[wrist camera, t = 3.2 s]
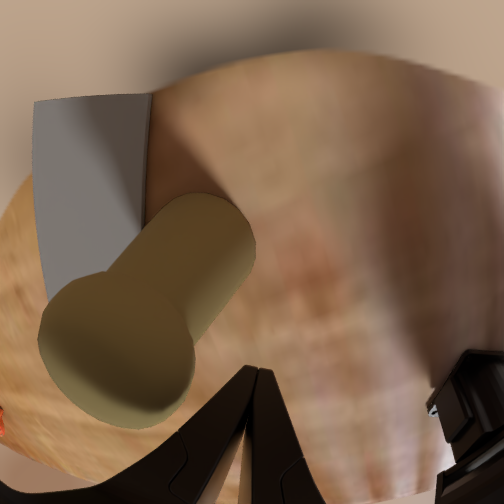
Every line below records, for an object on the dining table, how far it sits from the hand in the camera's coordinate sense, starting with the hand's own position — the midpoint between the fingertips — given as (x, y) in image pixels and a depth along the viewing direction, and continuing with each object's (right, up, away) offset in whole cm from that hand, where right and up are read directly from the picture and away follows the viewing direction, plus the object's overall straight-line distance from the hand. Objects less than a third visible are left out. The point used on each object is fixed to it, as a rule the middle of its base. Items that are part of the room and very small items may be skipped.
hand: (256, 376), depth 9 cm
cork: (-3, +4, +9) cm, 10 cm away
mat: (-11, +5, +9) cm, 15 cm away
